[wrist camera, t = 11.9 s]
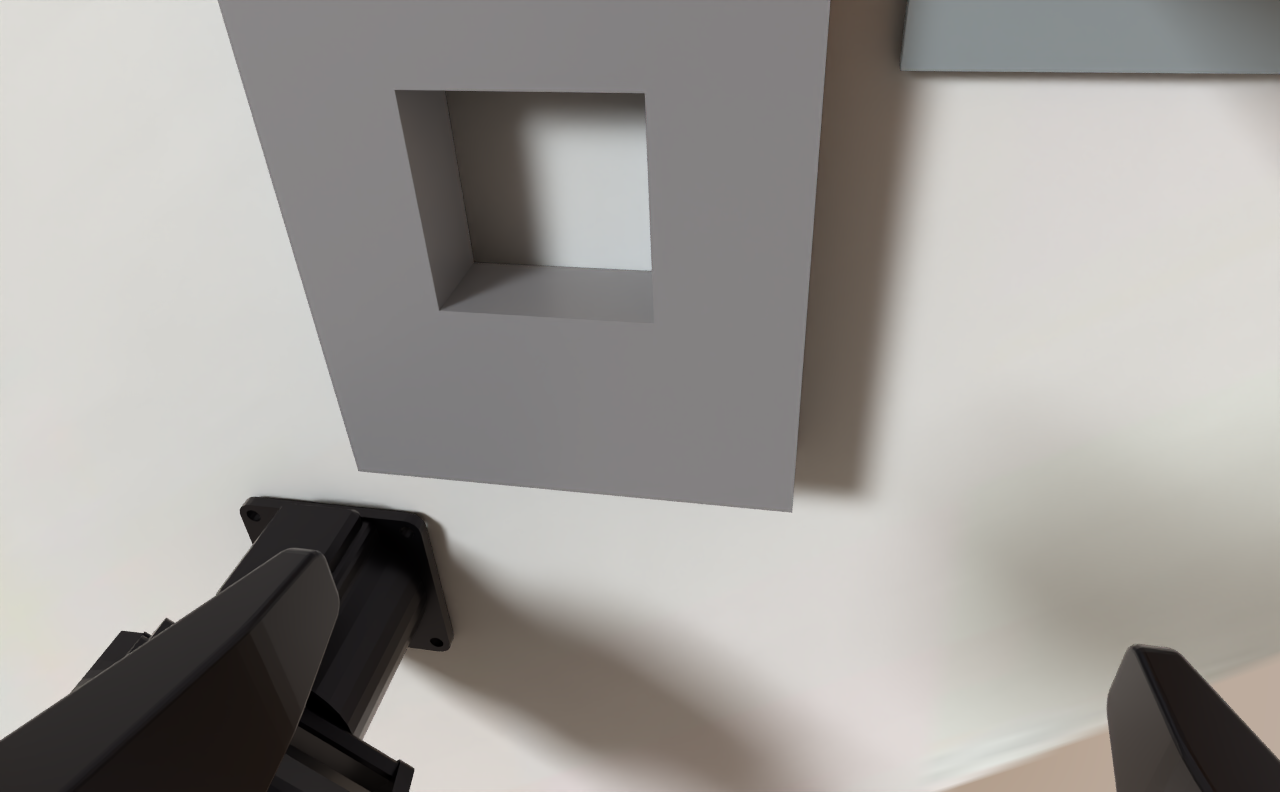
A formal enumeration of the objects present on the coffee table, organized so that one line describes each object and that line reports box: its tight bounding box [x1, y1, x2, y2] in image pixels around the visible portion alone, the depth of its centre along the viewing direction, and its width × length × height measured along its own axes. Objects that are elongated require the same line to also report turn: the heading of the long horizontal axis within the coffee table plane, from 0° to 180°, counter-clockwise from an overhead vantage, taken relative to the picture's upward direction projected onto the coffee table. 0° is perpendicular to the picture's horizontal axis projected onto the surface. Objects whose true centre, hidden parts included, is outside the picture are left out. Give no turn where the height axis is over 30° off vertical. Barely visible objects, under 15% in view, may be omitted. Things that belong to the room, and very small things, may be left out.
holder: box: [218, 0, 830, 512], centre depth 20 cm, size 16×12×2 cm
